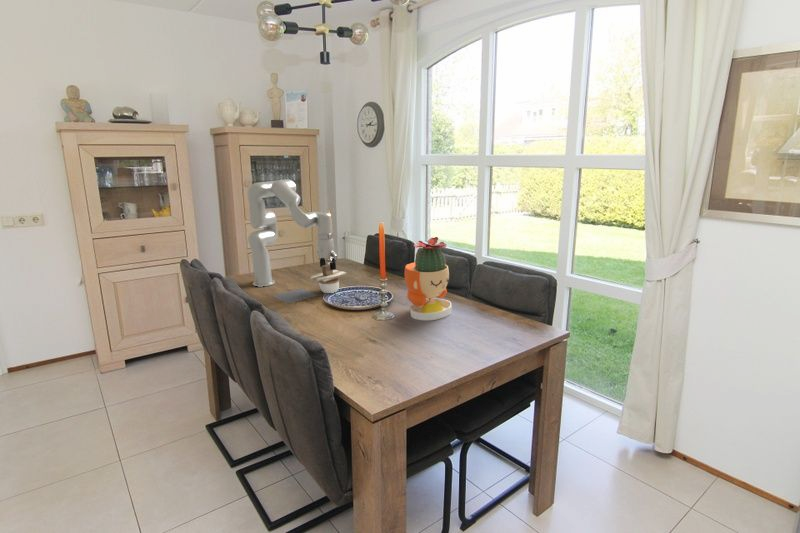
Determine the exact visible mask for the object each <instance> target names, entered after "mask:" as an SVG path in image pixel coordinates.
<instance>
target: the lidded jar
mask: <svg viewBox="0 0 800 533" xmlns="http://www.w3.org/2000/svg"><path fill="white" fill-rule="evenodd" d="M318 285H319V288H320V289H319V290H320V291H321V292H322V293H323V294H325V293H333V294H335V293H336V292H337V291H338V290H339V287H340V277H338V278H335V279H332V280H329V281H326V282H322V281H318ZM334 292H335V293H334Z"/></svg>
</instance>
